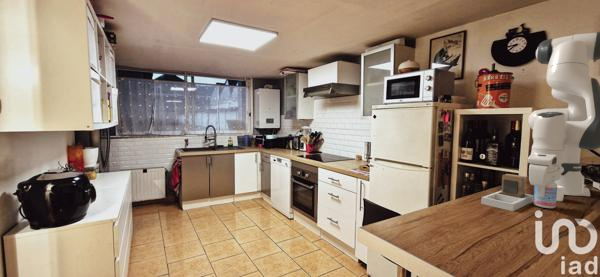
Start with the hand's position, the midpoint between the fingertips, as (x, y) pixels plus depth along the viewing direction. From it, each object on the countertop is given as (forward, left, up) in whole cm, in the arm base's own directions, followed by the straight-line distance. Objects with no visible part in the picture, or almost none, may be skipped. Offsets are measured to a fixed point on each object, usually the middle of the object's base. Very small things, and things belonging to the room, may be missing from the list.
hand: (545, 194), depth 95 cm
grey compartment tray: (+5, -10, -6) cm, 12 cm away
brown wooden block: (0, -10, -5) cm, 11 cm away
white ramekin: (-16, -2, -7) cm, 18 cm away
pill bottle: (0, 0, -5) cm, 4 cm away
